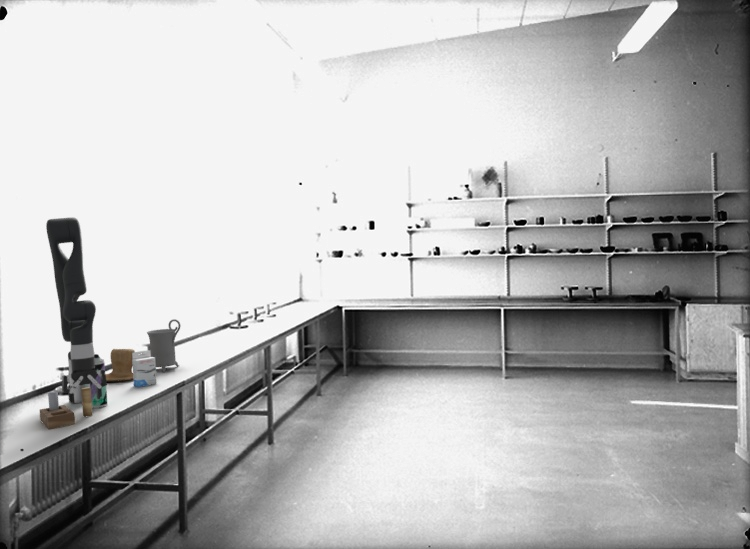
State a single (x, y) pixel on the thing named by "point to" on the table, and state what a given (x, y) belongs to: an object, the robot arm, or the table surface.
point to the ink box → (143, 368)
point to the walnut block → (57, 417)
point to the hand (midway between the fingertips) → (85, 401)
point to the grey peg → (53, 401)
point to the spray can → (98, 366)
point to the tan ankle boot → (121, 365)
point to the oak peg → (86, 401)
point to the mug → (163, 346)
